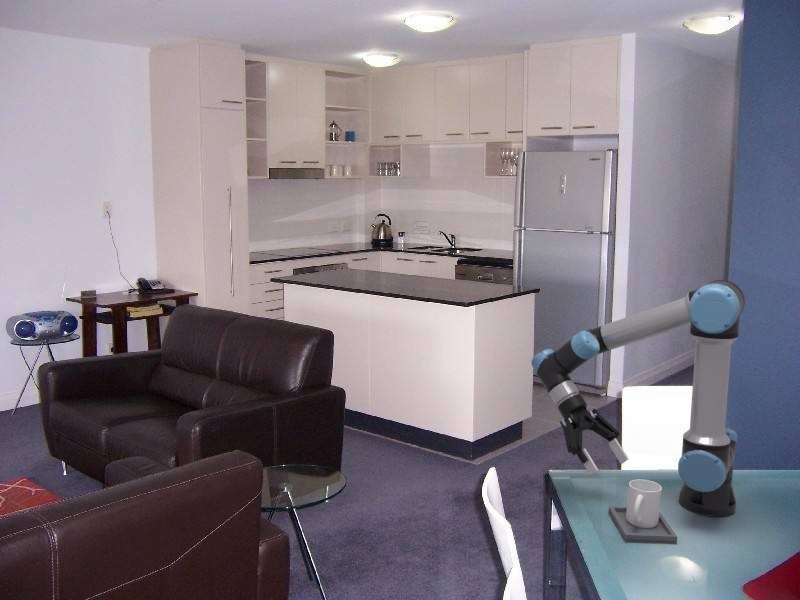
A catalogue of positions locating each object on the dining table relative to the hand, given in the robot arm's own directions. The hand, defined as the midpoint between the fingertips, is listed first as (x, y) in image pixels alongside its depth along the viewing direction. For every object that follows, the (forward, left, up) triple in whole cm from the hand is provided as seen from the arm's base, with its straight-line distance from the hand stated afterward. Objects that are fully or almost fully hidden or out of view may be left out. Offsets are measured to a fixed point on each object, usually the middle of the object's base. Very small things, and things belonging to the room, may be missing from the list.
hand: (610, 467), depth 219 cm
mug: (-7, +8, -13) cm, 16 cm away
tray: (-7, +8, -13) cm, 17 cm away
